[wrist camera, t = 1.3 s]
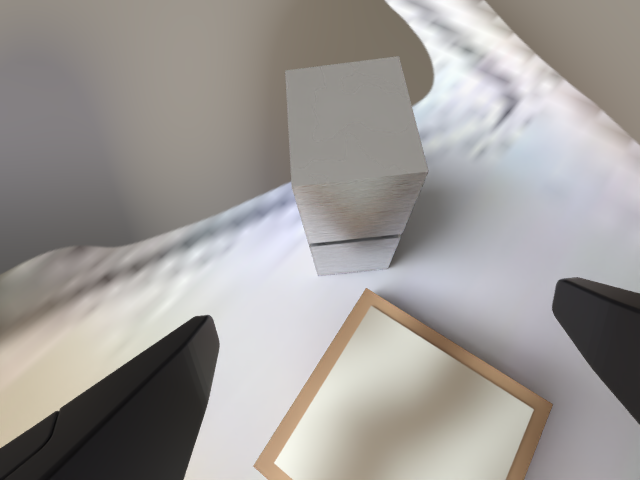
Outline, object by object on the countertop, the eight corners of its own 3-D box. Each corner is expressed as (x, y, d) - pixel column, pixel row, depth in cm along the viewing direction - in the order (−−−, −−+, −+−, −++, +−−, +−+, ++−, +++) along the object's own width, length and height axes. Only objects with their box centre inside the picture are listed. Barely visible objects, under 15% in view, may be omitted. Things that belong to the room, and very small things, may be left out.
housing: (387, 269, 22) (428, 171, 11) (318, 276, 23) (291, 186, 12) (375, 196, 25) (398, 56, 14) (312, 203, 25) (285, 70, 14)
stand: (522, 399, 19) (555, 404, 16) (437, 601, 16) (459, 655, 13) (363, 298, 22) (366, 286, 19) (266, 451, 19) (251, 467, 16)
